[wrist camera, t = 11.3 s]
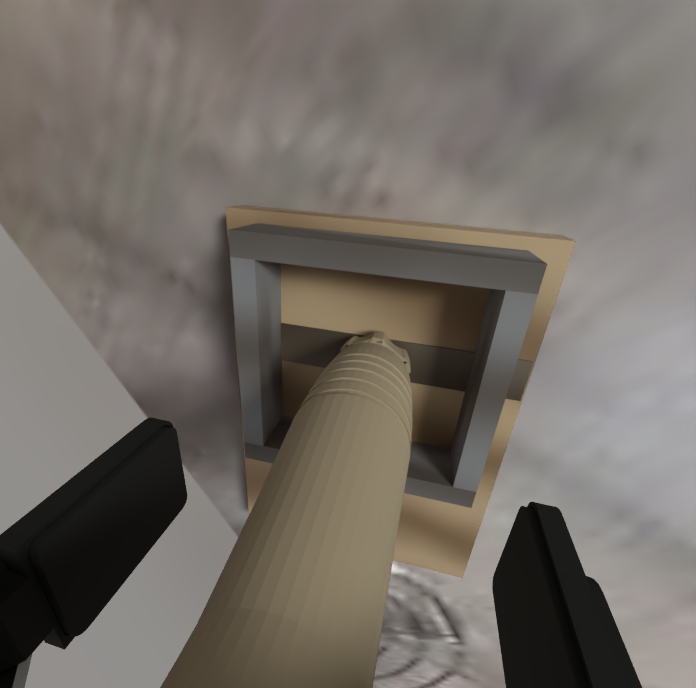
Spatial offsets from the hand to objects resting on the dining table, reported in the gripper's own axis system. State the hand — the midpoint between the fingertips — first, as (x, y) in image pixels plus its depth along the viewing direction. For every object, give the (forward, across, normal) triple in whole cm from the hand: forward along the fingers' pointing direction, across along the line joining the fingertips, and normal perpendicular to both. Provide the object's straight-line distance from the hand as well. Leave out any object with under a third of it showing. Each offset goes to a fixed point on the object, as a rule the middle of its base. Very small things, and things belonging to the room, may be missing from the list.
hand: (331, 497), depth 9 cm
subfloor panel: (+10, 0, +4) cm, 10 cm away
